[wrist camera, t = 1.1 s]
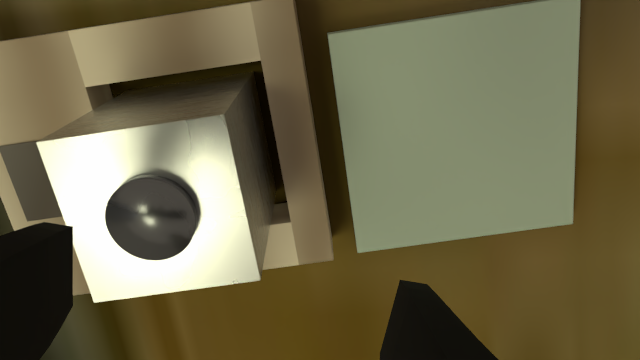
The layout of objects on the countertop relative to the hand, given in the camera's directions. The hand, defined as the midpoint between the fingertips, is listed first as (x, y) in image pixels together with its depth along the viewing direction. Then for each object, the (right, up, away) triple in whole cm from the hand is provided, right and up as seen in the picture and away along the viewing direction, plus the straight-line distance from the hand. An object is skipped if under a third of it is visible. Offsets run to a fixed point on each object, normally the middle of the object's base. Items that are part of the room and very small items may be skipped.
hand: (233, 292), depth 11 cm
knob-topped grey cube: (-3, +4, +9) cm, 11 cm away
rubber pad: (+7, +4, +9) cm, 13 cm away
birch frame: (-4, +4, +9) cm, 11 cm away
